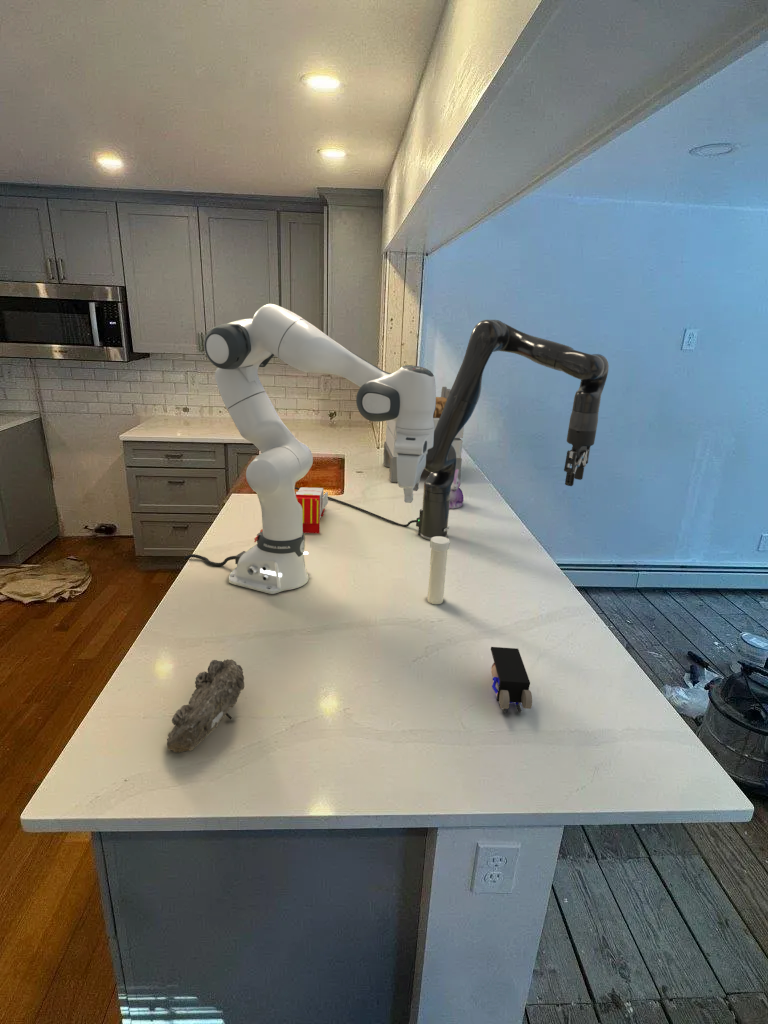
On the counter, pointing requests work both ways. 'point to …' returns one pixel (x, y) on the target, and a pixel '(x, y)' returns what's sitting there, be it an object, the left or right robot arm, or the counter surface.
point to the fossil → (206, 705)
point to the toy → (312, 507)
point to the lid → (439, 543)
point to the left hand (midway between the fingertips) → (411, 495)
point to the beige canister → (437, 576)
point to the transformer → (391, 456)
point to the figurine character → (510, 678)
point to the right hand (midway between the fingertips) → (573, 482)
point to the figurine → (456, 493)
